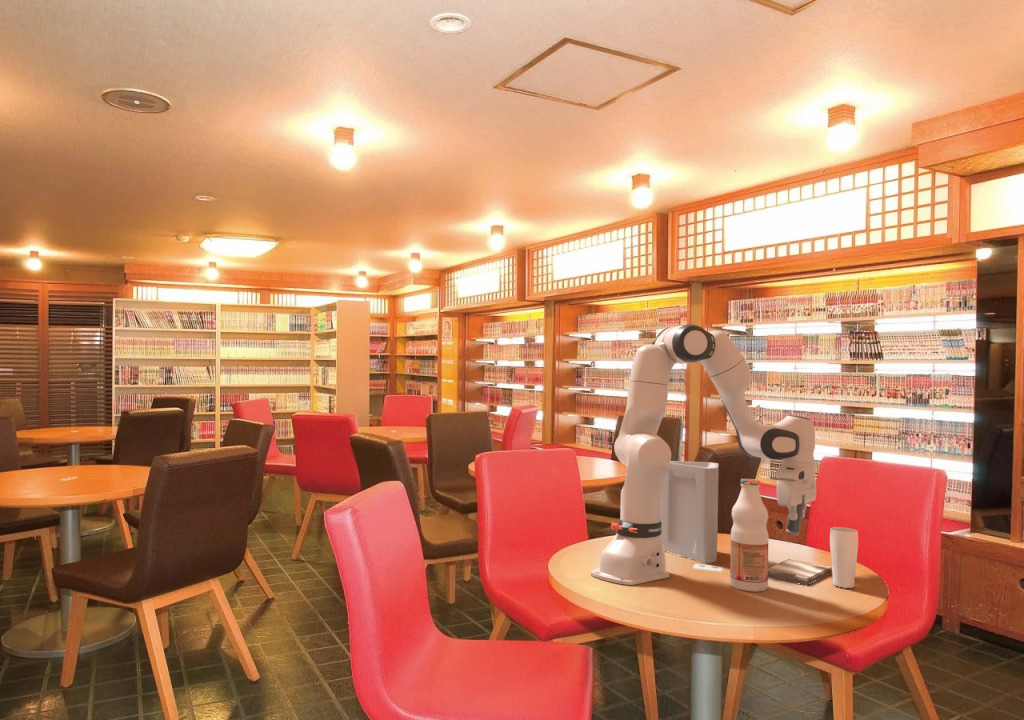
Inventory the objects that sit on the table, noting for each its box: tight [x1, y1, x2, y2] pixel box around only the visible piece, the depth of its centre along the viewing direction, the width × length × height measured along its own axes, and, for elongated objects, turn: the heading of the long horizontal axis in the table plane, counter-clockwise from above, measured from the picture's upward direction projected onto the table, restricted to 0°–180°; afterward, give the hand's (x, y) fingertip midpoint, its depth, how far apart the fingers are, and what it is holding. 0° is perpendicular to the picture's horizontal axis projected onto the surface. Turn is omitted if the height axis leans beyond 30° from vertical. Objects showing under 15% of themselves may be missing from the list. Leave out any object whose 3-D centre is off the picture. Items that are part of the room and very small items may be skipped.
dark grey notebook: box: [768, 558, 832, 586], centre depth 197 cm, size 20×13×2 cm, turn 136°
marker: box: [785, 495, 805, 536], centre depth 203 cm, size 4×4×12 cm
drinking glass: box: [829, 526, 859, 589], centre depth 185 cm, size 7×7×15 cm
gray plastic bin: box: [660, 460, 719, 564], centre depth 218 cm, size 19×15×28 cm
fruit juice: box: [729, 478, 769, 593], centre depth 183 cm, size 9×9×28 cm
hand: (797, 518), depth 203 cm, fingers closed on marker, 4 cm apart
